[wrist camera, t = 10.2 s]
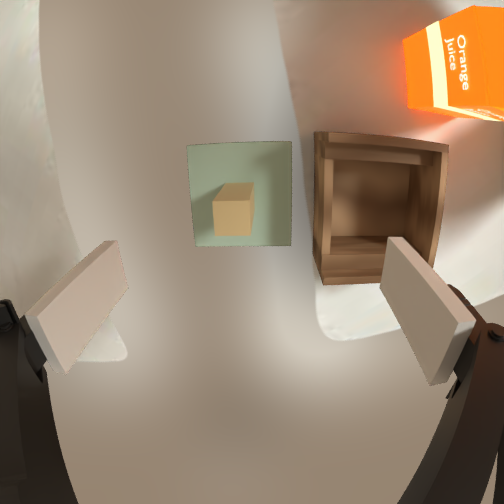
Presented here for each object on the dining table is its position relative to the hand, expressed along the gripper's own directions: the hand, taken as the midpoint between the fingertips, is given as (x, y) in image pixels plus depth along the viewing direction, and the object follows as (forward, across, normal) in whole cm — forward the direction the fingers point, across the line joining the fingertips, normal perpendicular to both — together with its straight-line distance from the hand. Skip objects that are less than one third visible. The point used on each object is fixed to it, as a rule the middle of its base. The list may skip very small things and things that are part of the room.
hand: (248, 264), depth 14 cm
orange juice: (+20, +21, +14) cm, 32 cm away
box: (+20, +12, -1) cm, 23 cm away
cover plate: (+20, -2, -1) cm, 20 cm away
